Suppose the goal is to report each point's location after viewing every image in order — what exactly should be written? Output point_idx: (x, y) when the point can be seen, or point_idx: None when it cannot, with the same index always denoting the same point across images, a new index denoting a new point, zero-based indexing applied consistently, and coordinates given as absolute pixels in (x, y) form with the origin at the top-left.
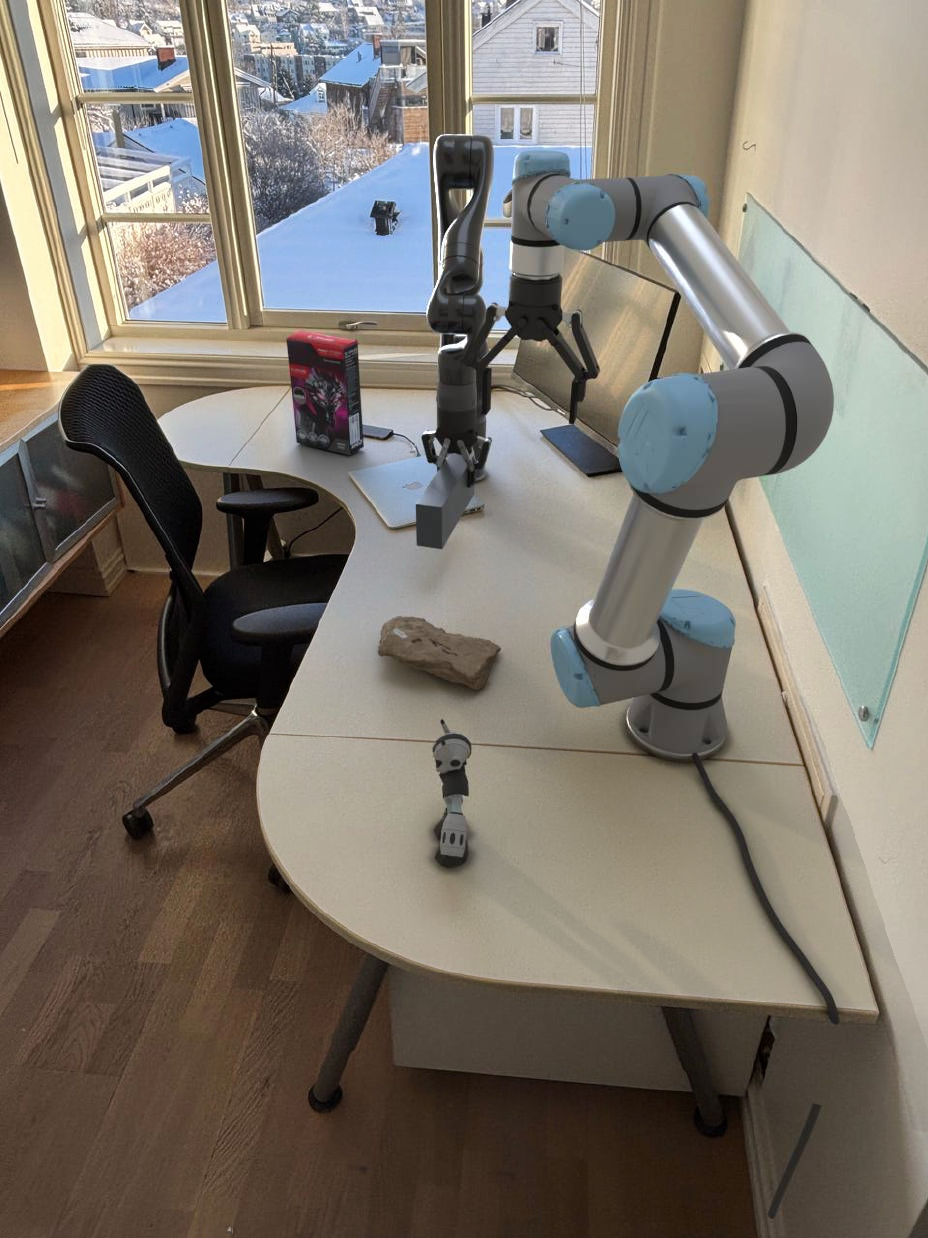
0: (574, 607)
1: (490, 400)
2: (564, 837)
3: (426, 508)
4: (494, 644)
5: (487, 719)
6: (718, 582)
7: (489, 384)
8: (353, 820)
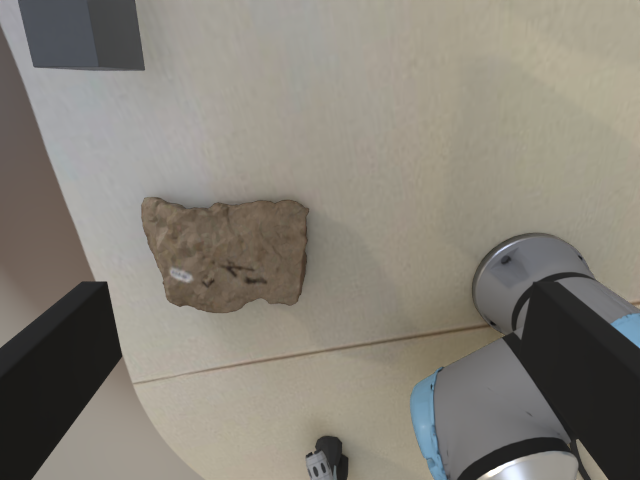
0: (391, 48)
1: (82, 315)
2: None
3: (65, 67)
4: (299, 209)
5: (323, 316)
6: None
7: (18, 427)
8: (248, 449)
